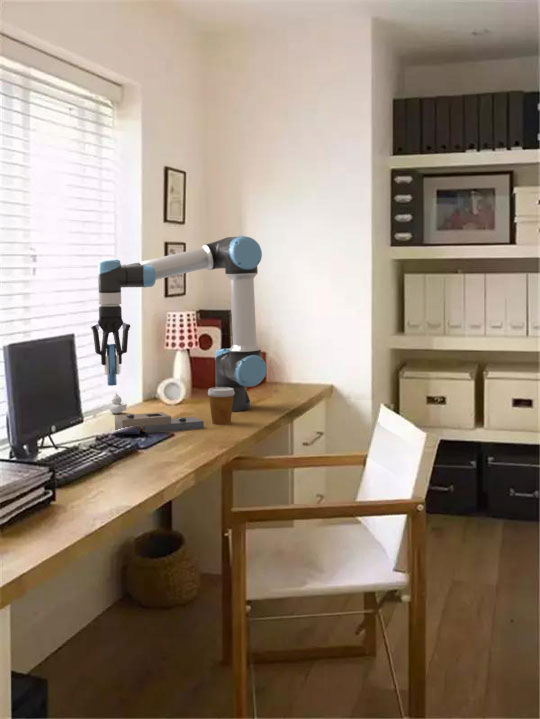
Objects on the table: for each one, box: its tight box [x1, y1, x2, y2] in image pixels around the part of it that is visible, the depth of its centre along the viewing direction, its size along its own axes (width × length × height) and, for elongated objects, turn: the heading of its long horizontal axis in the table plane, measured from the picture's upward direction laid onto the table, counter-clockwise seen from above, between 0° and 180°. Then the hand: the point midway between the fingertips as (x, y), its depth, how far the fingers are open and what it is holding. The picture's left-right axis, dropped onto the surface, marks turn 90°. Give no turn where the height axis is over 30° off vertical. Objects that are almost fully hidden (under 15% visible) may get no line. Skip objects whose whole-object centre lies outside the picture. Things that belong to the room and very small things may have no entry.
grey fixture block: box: [114, 411, 205, 434], centre depth 291 cm, size 28×9×6 cm, turn 115°
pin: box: [106, 343, 118, 387], centre depth 297 cm, size 3×3×14 cm
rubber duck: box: [109, 393, 128, 415], centre depth 321 cm, size 5×7×8 cm
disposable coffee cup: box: [207, 386, 235, 426], centre depth 302 cm, size 10×10×12 cm
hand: (111, 374), depth 298 cm, fingers closed on pin, 3 cm apart
